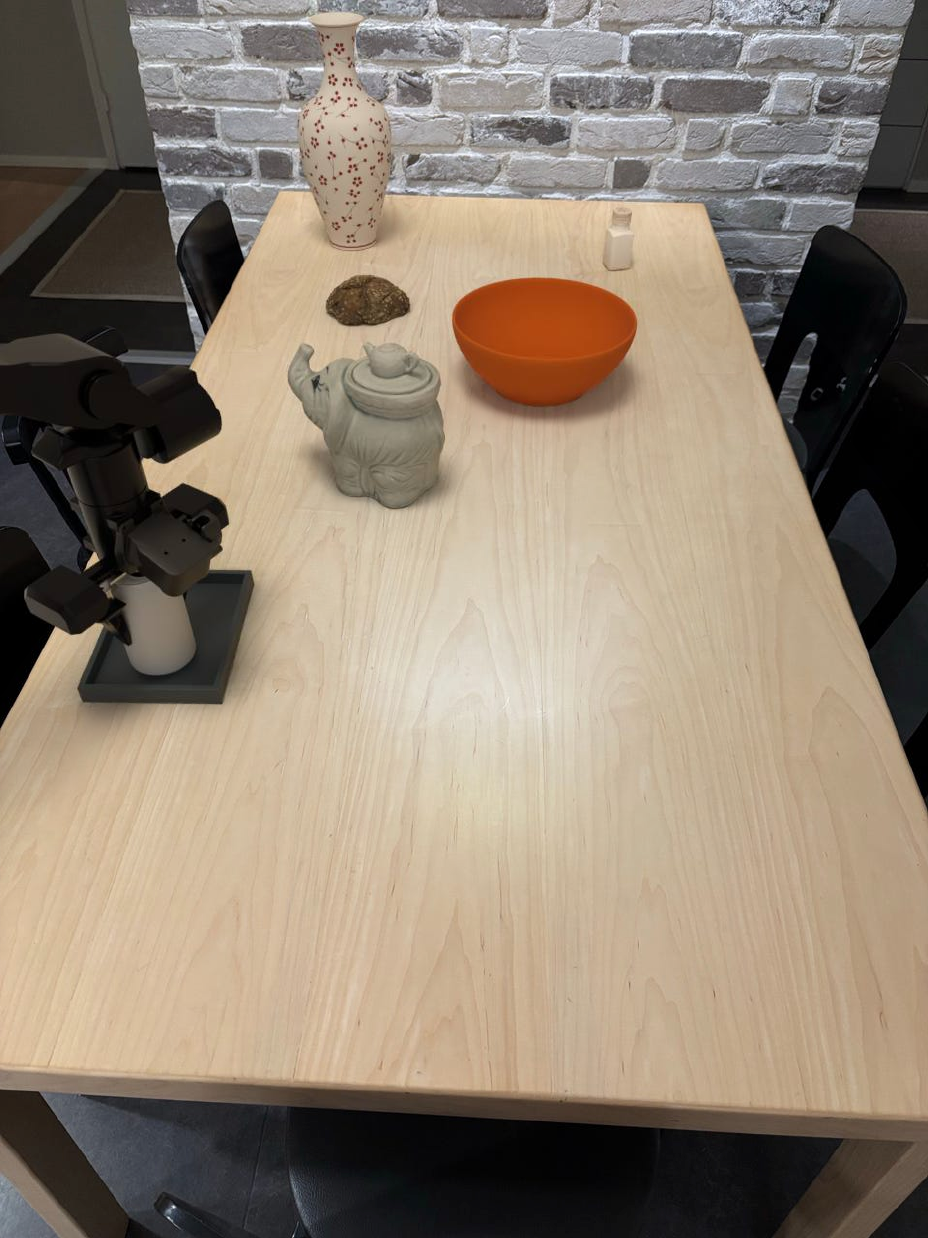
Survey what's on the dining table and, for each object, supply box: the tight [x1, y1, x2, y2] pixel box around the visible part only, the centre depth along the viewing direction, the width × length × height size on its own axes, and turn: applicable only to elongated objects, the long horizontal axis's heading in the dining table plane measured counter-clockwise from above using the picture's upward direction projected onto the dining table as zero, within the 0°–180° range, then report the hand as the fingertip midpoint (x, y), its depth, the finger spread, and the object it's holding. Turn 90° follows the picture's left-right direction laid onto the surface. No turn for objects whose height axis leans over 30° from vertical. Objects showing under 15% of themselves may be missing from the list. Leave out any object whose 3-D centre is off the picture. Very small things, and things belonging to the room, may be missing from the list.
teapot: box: [287, 341, 446, 509], centre depth 106 cm, size 16×15×19 cm
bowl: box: [451, 277, 638, 408], centre depth 127 cm, size 25×25×10 cm
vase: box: [297, 11, 392, 251], centre depth 156 cm, size 16×16×35 cm
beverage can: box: [111, 569, 196, 675], centre depth 86 cm, size 6×6×12 cm
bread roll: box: [325, 274, 411, 326], centre depth 146 cm, size 13×12×5 cm
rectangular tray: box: [76, 569, 255, 705], centre depth 92 cm, size 17×13×2 cm
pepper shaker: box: [602, 206, 635, 271], centre depth 157 cm, size 4×4×10 cm
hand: (154, 622), depth 87 cm, fingers closed on beverage can, 6 cm apart
